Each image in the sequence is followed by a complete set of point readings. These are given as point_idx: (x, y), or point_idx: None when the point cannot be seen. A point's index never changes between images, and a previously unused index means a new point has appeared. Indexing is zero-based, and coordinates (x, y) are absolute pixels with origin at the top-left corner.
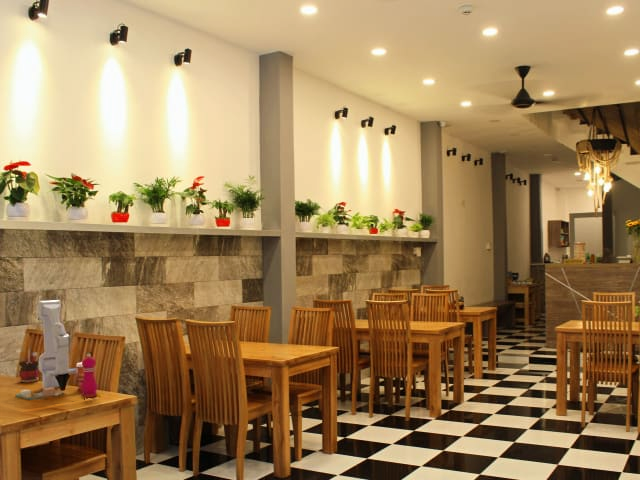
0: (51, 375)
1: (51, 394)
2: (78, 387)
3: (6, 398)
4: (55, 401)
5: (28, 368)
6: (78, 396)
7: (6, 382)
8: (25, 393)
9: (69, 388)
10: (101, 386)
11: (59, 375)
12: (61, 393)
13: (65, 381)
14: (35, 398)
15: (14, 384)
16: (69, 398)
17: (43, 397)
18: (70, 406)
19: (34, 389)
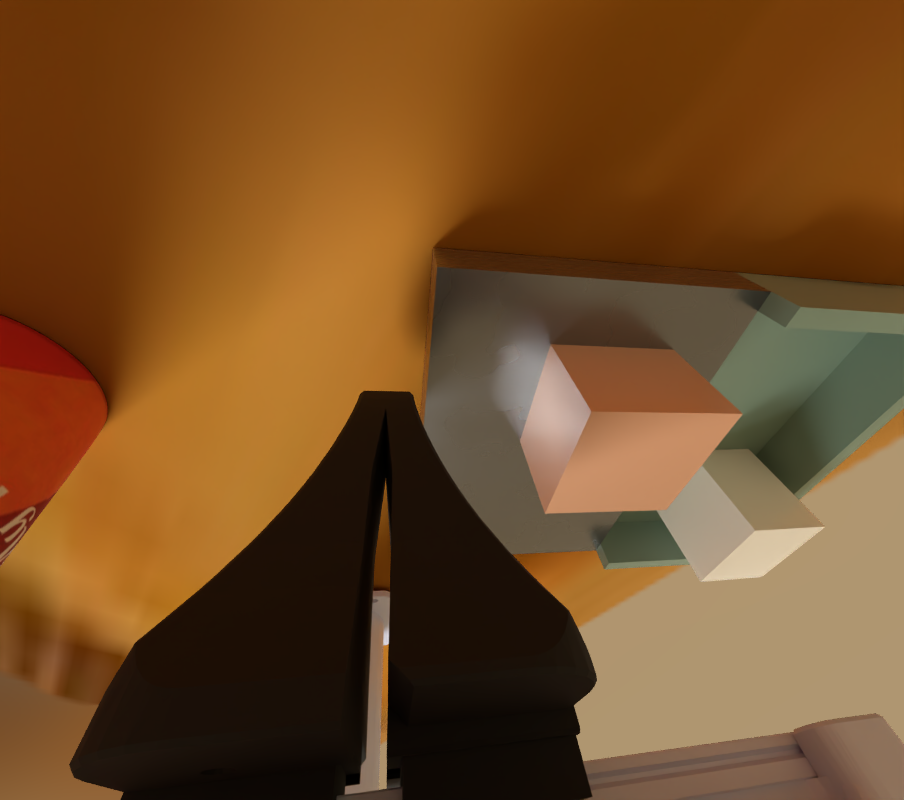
0: (775, 781)
1: (615, 354)
2: (65, 464)
3: (655, 579)
4: (786, 9)
5: None
6: (188, 55)
7: (381, 742)
8: (792, 505)
9: (174, 601)
10: None
11: (524, 763)
12: (431, 363)
13: (347, 511)
14: (898, 305)
15: (382, 725)
16: (439, 30)
17: (789, 295)
18: None
19: (386, 659)
